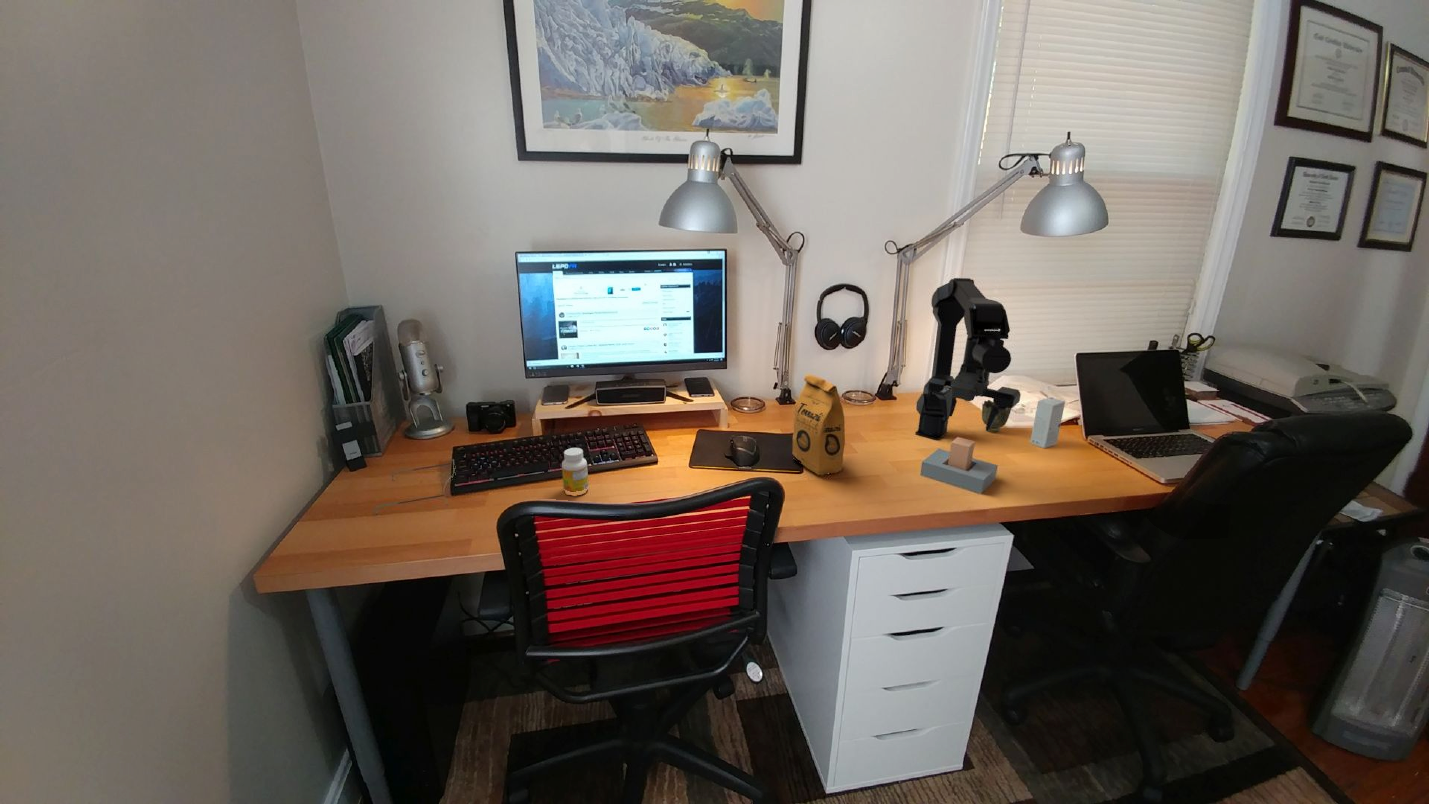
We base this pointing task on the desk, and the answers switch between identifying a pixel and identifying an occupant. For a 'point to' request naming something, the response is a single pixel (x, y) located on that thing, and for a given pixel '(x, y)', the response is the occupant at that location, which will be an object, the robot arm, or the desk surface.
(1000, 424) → the cup
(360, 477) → the desk surface
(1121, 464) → the desk surface
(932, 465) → the socket block
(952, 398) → the robot arm
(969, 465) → the terracotta peg
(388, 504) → the eyeglasses
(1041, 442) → the skincare box
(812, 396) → the coffee package
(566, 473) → the supplement bottle
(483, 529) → the desk surface
